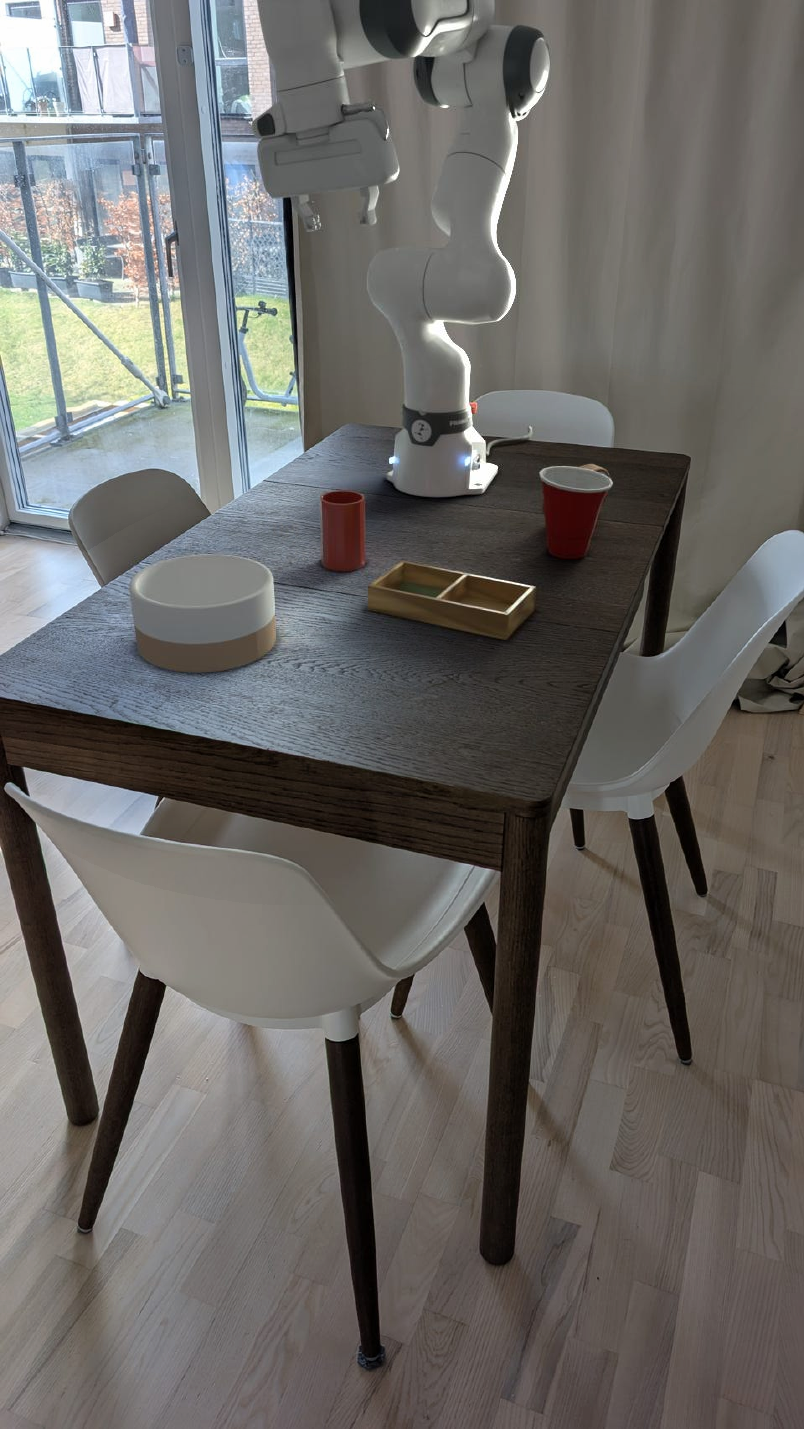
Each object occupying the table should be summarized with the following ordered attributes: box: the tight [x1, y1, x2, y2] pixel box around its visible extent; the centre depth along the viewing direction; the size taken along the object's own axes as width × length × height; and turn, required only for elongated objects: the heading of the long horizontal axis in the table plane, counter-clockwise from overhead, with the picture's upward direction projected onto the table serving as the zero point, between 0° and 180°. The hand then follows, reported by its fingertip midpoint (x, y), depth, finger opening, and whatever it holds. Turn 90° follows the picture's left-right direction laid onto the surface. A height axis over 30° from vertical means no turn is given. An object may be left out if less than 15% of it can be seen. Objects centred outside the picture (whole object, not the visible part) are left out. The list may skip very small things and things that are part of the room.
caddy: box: [367, 560, 537, 641], centre depth 137 cm, size 10×20×4 cm, turn 63°
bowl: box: [128, 553, 277, 674], centre depth 127 cm, size 17×17×8 cm
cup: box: [319, 489, 367, 572], centre depth 150 cm, size 6×6×10 cm
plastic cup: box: [538, 465, 614, 560], centre depth 154 cm, size 11×11×12 cm
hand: (340, 227), depth 138 cm, fingers open, 8 cm apart
